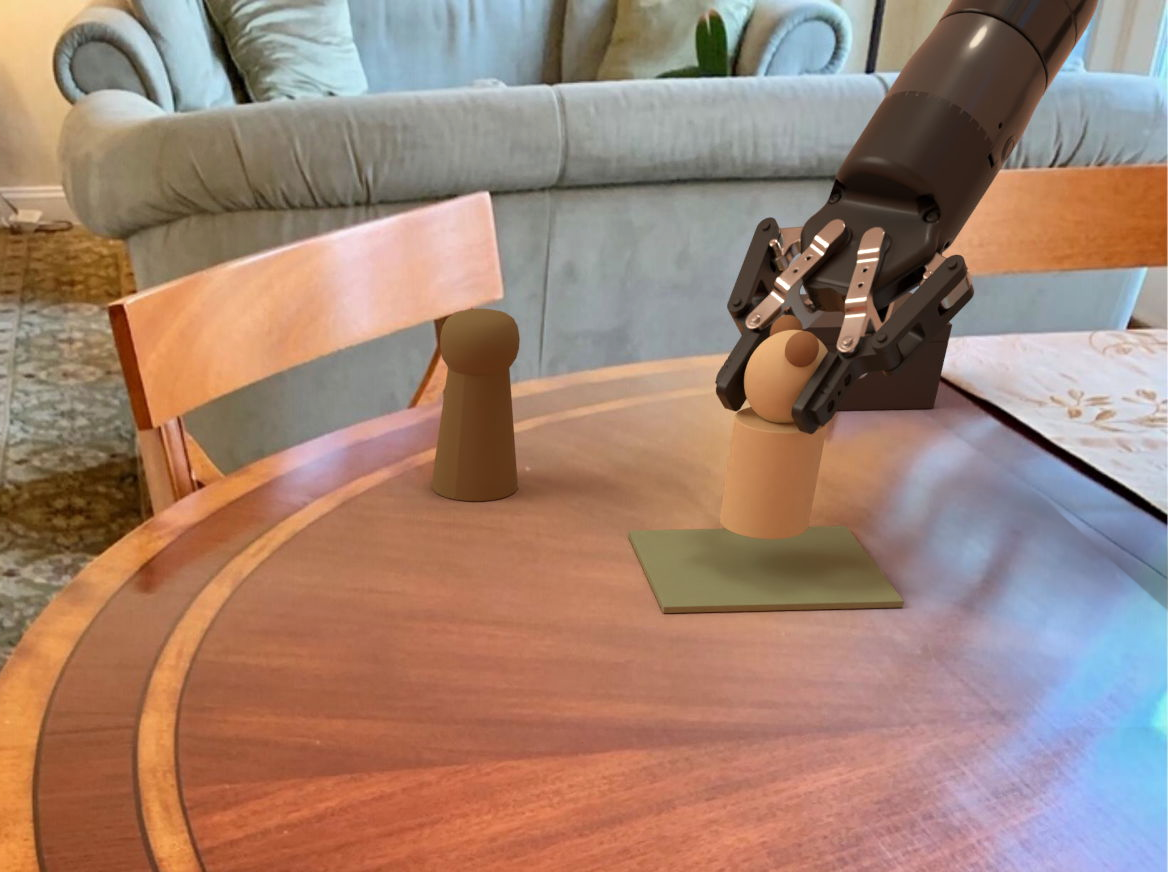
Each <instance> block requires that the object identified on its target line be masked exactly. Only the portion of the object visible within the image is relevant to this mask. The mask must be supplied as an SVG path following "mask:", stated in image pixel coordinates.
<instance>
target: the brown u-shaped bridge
mask: <svg viewBox="0 0 1168 872" xmlns="http://www.w3.org/2000/svg"><path fill="white" fill-rule="evenodd" d="M912 294H913V293H912V291H910V292H908V293H907V294H905V295H903V296H902V297H900V298H899V299H897V300H896V301H895V302H894V306H893V309H892V312H891V316H892V315H893V314H894V313H895V312H896V311H897V310H898V309H899V308H900V307H901V306H902V304H903V303H904V302H905V301H906V300H907V299H908V298H909V297H910V296H911V295H912ZM800 295H801V297H802V299H803V302H804V301H805V300H806V299H807V298H808V296H807V294H806V293H800ZM784 310H785V309H784ZM784 310H783V311H782V312H781V313H780V314H779V315H778V316H777V317H776V318H775V319H774V320H773V321H772V322H771V324H772V325H773V323H774V322H775V321H776V320H777V319H778V318H780V317H781V316H782V315H783V313H784ZM891 316H890V317H891ZM844 318H845V314H844V313H842V312H824V313H823V314H822V315H821V316H819V317H818V318H817V319H816V320H815V321H814V322H813V323H812V324H811V325H810V326H809V327H808V328H806V329H803V331H808V332H811V333H812V334H814V335H815V336H816V338H818V339H819V340H820V341H821V342H822V343H823V344H824V346H825V347H826V349H827V350H828V352H832V353H836V351H837V350H838V349H837V341H838V338H839V335H840V331H841V328H842V325H843V321H844ZM952 328H953V324H952V323H951V321H949V322H948V323H947V324H946V326H945V327H944V328H943V329H942V330H941V331H940V332H939V333H938V334H937V335H936V336H935V337H934V338H933V339H932V340H931V341H930V342H929V343H928V344H927V345H926V346H925V347H924V348H923V349H922V350H921V351H920V352H919V353H918V354H917V355H916V356H915V358H914V359H913V360H912V361H911V362H910V363H909V364H908V365H907V366H906V367H905V368H904V369H903V370H902V371H901V372H900V373H898V374H897V375H895V376H886V375H884V373H883V371H876V372H869V373H868V374H867V375H866V376H864V377H863V378H860V379H857V380H856V382H855V383H854V385H853V386H852V388H851V389H850V391H849V392H848V394H847V396H846V397H845V399H844V400H843V402H842V403H841V405H840V406H839V408H838V409H837V411H838V412H839V411H875V410H876V411H877V410H879V411H880V410H881V411H883V410H886V411H887V410H927V409H928V410H929V409H934V408H935V403H936V398H937V395H938V389H939V386H940V381H941V378H942V373H943V369H944V364H945V359H946V355H947V350H948V347H949V341H950V338H951V332H952ZM837 411H836V412H837Z"/></svg>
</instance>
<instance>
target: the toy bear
mask: <svg viewBox="0 0 1168 872" xmlns="http://www.w3.org/2000/svg"><path fill="white" fill-rule="evenodd" d="M827 352H828V350H827V349H826V347H825V346H824V344H823V343H822V342H821V341H820V340H819V339H818V338H816V336H815V335H814V334H812V333H811V332H808V331H803V327H802V324H801V322H800V320H799V319H798V318H797V317H795V316H792V315H784V316H782V317H780V318H778V319H777V320H776V321H775V322H774V323H773V325H772V327H771V330H770V337H769V338H767V339H766V340H765V341H763V342H762V343H761V344H760V345H759V346H758V347H757V349H756V350H755V351H754V352H753V354H752V356H751V357H750V359H749V362H748V364H747V367H746V370H745V375H744V389H745V394H746V397H747V399H746V401H747V402H748V404H749V406H750V407H746V408H743V409H740V410H739V411H737V412H736V413H735V415H734V420H733V425H732V426H733V427H732V433H731V440H730V447H729V455H728V461H727V467H726V475H725V482H724V488H723V495H722V500H721V501H722V502H721V510H720V515H719V523H720V525H721V526H722V527H723V529H725V528H726V529H727V530H729V531H731V532H733V533H736V534H739V535H742V536H746V537H751V538H759V539H784V538H791V537H795V536H798V535H800V534H802V533H804V532H805V531H806V530H807V529H808V527H810V526H809V525H810V520H811V516H812V510H813V504H814V499H815V493H816V488H817V481H818V478H819V471H820V466H821V462H822V457H823V451H824V445H825V438H826V433H827V428H828V423H829V422H827V423H826V424H825V425H824V426H819V427H818V429H817V430H816V432H815V433H813V434H808V433H804V432H801V431H799V429H798V427H797V426H796V424H795V422H794V420H793V418H792V415H791V411H792V407H793V405H794V403H795V402H796V400H797V399H798V397H799V396H800V394H801V392H802V391H803V389H804V388H805V386H806V385H807V383H808V382H809V380H810V379H811V377H812V375H813V374H814V372H815V371H816V369H817V368H818V366H819V365H820V363H821V361H822V360H823V358H824V357H825V355H826V354H827Z"/></svg>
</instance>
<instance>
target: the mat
mask: <svg viewBox="0 0 1168 872" xmlns="http://www.w3.org/2000/svg"><path fill="white" fill-rule="evenodd" d="M628 538H629V542H630V543H631V546H632V548H633V550H634V552H635V554H636V556H637V559H638V560H639V563H640V565H641V567H642V569H643V572H644V575H645V576H646V578H647V580H648V582H649V585H650V587H651V589H652V591H653V593H654V595H655V598H656V600H657V603H658V604H659V607H660V609H661V611H662V613H663V614H677V613H678V614H682V613H723V612H724V613H726V612H727V613H728V612H763V611H764V612H765V611H767V612H768V611H805V610H806V611H809V610H845V609H847V610H849V609H889V608H890V609H891V608H893V609H894V608H903V607H904V603H905V601H904V599H903V597H901V595H900V594H899V593H898V591H897V590H896V589H895V587H894V586H893V585H892V584H891V582H890V581H889V580H888V578H887V577H886V576H885V574H884V573H883V572H882V571H881V569H880V568H879V567H878V565H877V564H876V563H875V561H874V560H873V559H872V558H871V556H870V555H869V553H868V552H867V551H866V550H865V549H864V547H863V546H862V545H861V543H860V542H859V541H858V540H857V538H856V536H854V534H853V533H852V532H851V530H850V529H849V527H848V526H847V525H821V526H820V525H819V526H818V525H817V526H816V525H815V526H814V525H813V526H808V529H807V530H806V531H805V532H804V533H802V534H800V535H798V536H795V537H791V538H784V539H759V538H751V537H746V536H742V535H739V534H736V533H733V532H731V531H729V530H727V529H726V528H687V529H686V528H685V529H683V528H682V529H647V530H646V529H643V530H642V529H640V530H628Z"/></svg>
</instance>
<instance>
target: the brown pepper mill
mask: <svg viewBox="0 0 1168 872" xmlns="http://www.w3.org/2000/svg"><path fill="white" fill-rule="evenodd" d="M439 337H440V338H439V341H440V342H439V349H440V354H441V358H442V360H443V362H444V364H445V365H446V367H447V372H446V379H445V387H444V393H443V398H442V399H443V401H442V406H441V407H442V408H441V414H440V420H439V428H438V435H437V441H436V449H435V457H434V463H433V471H432V477H431V484H430V485H431V487H430V488H431V490H432V491H433V492H434V493H436V494H438V495H439V496H441V497H444V498H447V499H451V500H456V501H465V502H487V501H495V500H501V499H503V498H507V497H509V496H512V495H513V494H515V493H516V492H517V491H518V489H519V483H518V482H519V481H518V470H517V455H516V442H515V441H516V440H515V427H514V414H513V399H512V383H511V372H510V369H511V367H512V365H513V364H514V363H515V361H516V359H517V357H518V354H519V350H520V338H521V337H520V332H519V327H518V324H517V322H516V320H515V318H514V317H512V316H511V315H510V314H508V313H507V312H505V311H501V310H497V309H491V308H469V309H464V310H459V311H456V312H454V313H452V314H451V315H449V316H448V317H447V318H446V319H445V321H444V323H443V325H442V326H441V331H440V335H439Z"/></svg>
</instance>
